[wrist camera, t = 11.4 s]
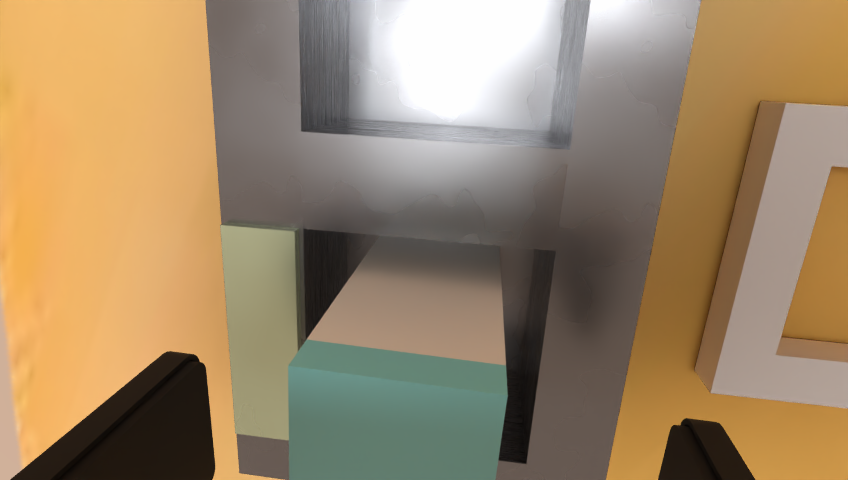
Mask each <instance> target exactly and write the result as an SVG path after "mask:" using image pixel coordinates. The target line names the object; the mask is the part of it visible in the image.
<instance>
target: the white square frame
mask: <svg viewBox="0 0 848 480" xmlns="http://www.w3.org/2000/svg"><path fill="white" fill-rule="evenodd" d="M832 166H836V167H848V106H839V105H822V104H804V103H786V102H769V101H761V102H760V106H759V110H758V114H757V118H756V122H755V126H754V130H753V134H752V138H751V142H750V146H749V150H748V155H747V159H746V163H745V167H744V171H743V175H742V179H741V183H740V187H739V191H738V195H737V199H736V203H735V207H734V212H733V216H732V220H731V224H730V228H729V232H728V236H727V240H726V244H725V248H724V252H723V256H722V260H721V265H720V269H719V273H718V277H717V281H716V285H715V289H714V293H713V297H712V301H711V305H710V309H709V313H708V317H707V322H706V326H705V330H704V334H703V338H702V342H701V346H700V350H699V354H698V358H697V362H696V366H695V372H696V373H697V375H698V376H699V377H700V379H701V380H702V382H703V383H704V385H705V386H706V387H707V389H708V390H709V392H710V393H714V394H723V395H732V396H741V397H750V398H759V399H768V400H777V401H786V402H795V403H804V404H813V405H822V406H831V407H840V408H848V344H845V343H835V342H825V341H815V340H805V339H795V338H785V337H781V335H782V331H783V328H784V325H785V321H786V318H787V315H788V311H789V308H790V305H791V301H792V298H793V294H794V291H795V288H796V284H797V281H798V278H799V274H800V271H801V268H802V264H803V261H804V258H805V254H806V251H807V247H808V244H809V241H810V237H811V234H812V231H813V227H814V224H815V221H816V217H817V214H818V211H819V207H820V204H821V200H822V197H823V194H824V190H825V187H826V184H827V180H828V177H829V174H830V170H831V167H832Z"/></svg>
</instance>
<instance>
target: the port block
mask: <svg viewBox="0 0 848 480" xmlns="http://www.w3.org/2000/svg"><path fill="white" fill-rule="evenodd" d="M700 4H701V0H206V14H207V28H208V42H209V56H210V70H211V84H212V98H213V112H214V125H215V139H216V153H217V167H218V181H219V195H220V209H221V223H222V224H221V225H220V228H221V242H222V256H223V270H224V283H225V297H226V311H227V325H228V338H229V352H230V366H231V380H232V393H233V407H234V421H235V434H237V445H238V459H239V473H242V474H249V475H257V476H264V477H271V478H278V479H285V480H289V408H288V365H289V364H290V362H291V361H292V360H293V358H294V357H295V355H296V354H297V352H298V351H299V350H300V348H301V347H302V345H303V344H304V342H305V341H306V340H307V338H308V337H309V335H310V334H311V333H312V331H313V330H314V328H315V327H316V325H317V324H318V323H319V321H320V320H321V318H322V317H323V315H324V314H325V313H326V311H327V310H328V308H329V307H330V305H331V304H332V303H333V301H334V300H335V298H336V297H337V295H338V294H339V293H340V291H341V290H342V288H343V287H344V286H345V284H346V283H347V281H348V280H349V278H350V277H351V276H352V274H353V273H354V271H355V270H356V268H357V267H358V266H359V264H360V263H361V261H362V260H363V258H364V257H365V256H366V254H367V253H368V251H369V250H370V248H371V247H372V246H373V244H374V243H375V241H376V240H377V239H378V237H379V236H392V237H403V238H415V239H426V240H437V241H449V242H460V243H472V244H483V245H495V246H499V248H500V266H501V284H502V302H503V320H504V338H505V356H506V374H507V392H508V397H507V404H506V410H505V417H504V424H503V431H502V438H501V445H500V452H499V459H498V466H497V472H496V479H495V480H606V476H607V471H608V466H609V461H610V455H611V450H612V445H613V440H614V435H615V430H616V425H617V420H618V415H619V410H620V405H621V400H622V395H623V390H624V385H625V380H626V375H627V370H628V365H629V360H630V355H631V350H632V345H633V340H634V335H635V330H636V325H637V320H638V315H639V310H640V305H641V300H642V295H643V290H644V285H645V280H646V275H647V270H648V265H649V260H650V255H651V250H652V245H653V240H654V235H655V230H656V225H657V220H658V215H659V210H660V205H661V200H662V195H663V190H664V185H665V180H666V175H667V170H668V165H669V160H670V155H671V150H672V145H673V140H674V135H675V130H676V125H677V119H678V114H679V109H680V104H681V99H682V94H683V89H684V84H685V79H686V74H687V69H688V64H689V59H690V54H691V49H692V44H693V39H694V34H695V29H696V24H697V19H698V14H699V9H700Z"/></svg>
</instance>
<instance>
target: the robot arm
mask: <svg viewBox="0 0 848 480" xmlns="http://www.w3.org/2000/svg"><path fill="white" fill-rule="evenodd" d="M214 472H215V458H214V448H213V438H212V427H211V417H210V406H209V396H208V385H207V375H206V367H205V365H204V364H203V363H201V362H199V359H198V357H197V356H196V355H194V354H187V353H179V352H171V351H170V352H166V353H164V354H162V355H161V356H160V357H159V358H158V359H156V360H155V361H154V362H153V363H151V364H150V365H149V366H148V367H147V368H145V369H144V370H143V371H142V372H141V373H139V374H138V375H137V376H136V377H134V378H133V379H132V380H131V381H130V382H128V383H127V384H126V385H125V386H124V387H122V388H121V389H120V390H119V391H117V392H116V393H115V394H114V395H113V396H111V397H110V398H109V399H108V400H107V401H105V402H104V403H103V404H102V405H100V406H99V407H98V408H97V409H96V410H94V411H93V412H92V413H91V414H90V415H88V416H87V417H86V418H85V419H83V420H82V421H81V422H80V423H79V424H77V425H76V426H75V427H74V428H73V429H71V430H70V431H69V432H68V433H66V434H65V435H64V436H63V437H62V438H60V439H59V440H58V441H57V442H56V443H54V444H53V445H52V446H51V447H49V448H48V449H47V450H46V451H45V452H43V453H42V454H41V455H40V456H39V457H37V458H36V459H35V460H34V461H32V462H31V463H30V464H29V465H28V466H26V467H25V468H24V469H23V470H22V471H20V472H19V473H18V474H17V475H15V476H14V477H13V478H12V479H11V480H212V479H213V476H214ZM658 480H755V478H754V477H753V475H752V473H751V472H750V470H749V469H748V467H747V465H746V464H745V462H744V461H743V459H742V457H741V456H740V454H739V453H738V451H737V449H736V448H735V446H734V444H733V443H732V441H731V440H730V438H729V436H728V435H727V433H726V432H725V430H724V428H723V427H722V426H721V425H720V424H719V423H717V422H710V421H703V420H695V419H687V418H686V419H684V420H683V421H682V422H681V425H680V426H679V425H673V426H672V427H671V430H670V433H669V437H668V441H667V445H666V449H665V454H664V458H663V462H662V466H661V470H660V474H659V478H658Z"/></svg>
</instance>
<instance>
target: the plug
mask: <svg viewBox="0 0 848 480" xmlns="http://www.w3.org/2000/svg"><path fill="white" fill-rule="evenodd" d="M507 397H508V392H507V374H506V356H505V338H504V320H503V302H502V284H501V266H500V248H499V246H495V245H483V244H472V243H460V242H449V241H437V240H426V239H415V238H403V237H392V236H379V237H378V239H377V240H376V241H375V243H374V244H373V246H372V247H371V248H370V250H369V251H368V253H367V254H366V256H365V257H364V258H363V260H362V261H361V263H360V264H359V266H358V267H357V268H356V270H355V271H354V273H353V274H352V276H351V277H350V278H349V280H348V281H347V283H346V284H345V286H344V287H343V288H342V290H341V291H340V293H339V294H338V295H337V297H336V298H335V300H334V301H333V303H332V304H331V305H330V307H329V308H328V310H327V311H326V313H325V314H324V315H323V317H322V318H321V320H320V321H319V323H318V324H317V325H316V327H315V328H314V330H313V331H312V333H311V334H310V335H309V337H308V338H307V340H306V341H305V342H304V344H303V345H302V347H301V348H300V350H299V351H298V352H297V354H296V355H295V357H294V358H293V360H292V361H291V362H290V364H289V365H288V408H289V480H495V479H496V472H497V466H498V459H499V452H500V445H501V438H502V431H503V424H504V417H505V410H506V404H507Z"/></svg>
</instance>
